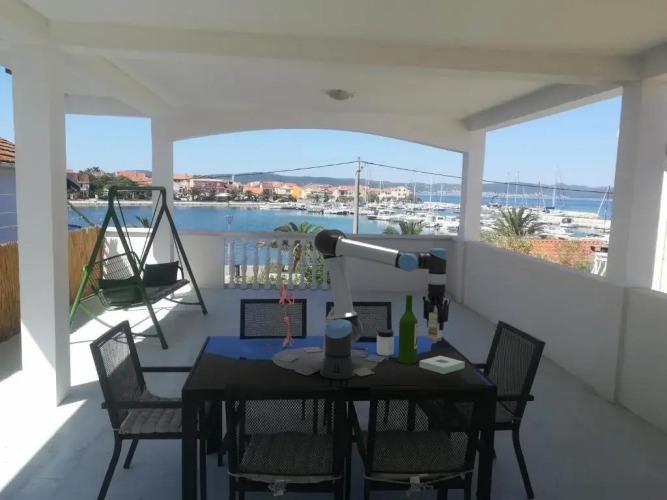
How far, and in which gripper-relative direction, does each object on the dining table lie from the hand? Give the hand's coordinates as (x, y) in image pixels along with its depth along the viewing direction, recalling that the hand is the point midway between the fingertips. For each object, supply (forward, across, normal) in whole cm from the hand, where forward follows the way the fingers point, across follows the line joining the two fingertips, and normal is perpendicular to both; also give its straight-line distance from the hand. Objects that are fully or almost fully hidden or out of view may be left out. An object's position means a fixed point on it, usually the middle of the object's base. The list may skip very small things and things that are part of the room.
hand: (434, 336), depth 214 cm
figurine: (+19, +87, +22) cm, 91 cm away
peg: (+2, 0, 0) cm, 2 cm away
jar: (+18, +41, -12) cm, 46 cm away
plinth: (+18, +7, -15) cm, 24 cm away
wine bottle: (+18, +24, -10) cm, 32 cm away
